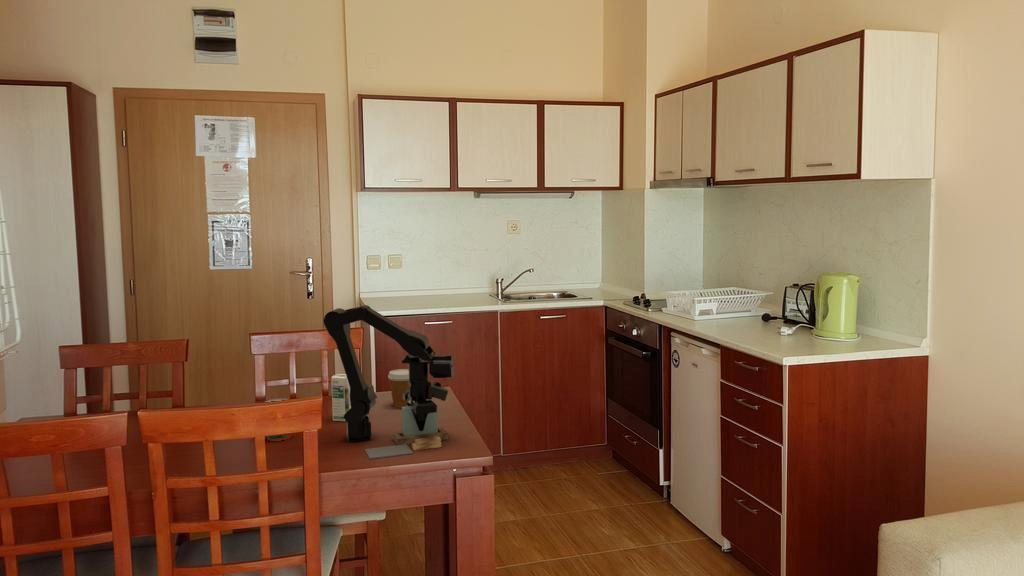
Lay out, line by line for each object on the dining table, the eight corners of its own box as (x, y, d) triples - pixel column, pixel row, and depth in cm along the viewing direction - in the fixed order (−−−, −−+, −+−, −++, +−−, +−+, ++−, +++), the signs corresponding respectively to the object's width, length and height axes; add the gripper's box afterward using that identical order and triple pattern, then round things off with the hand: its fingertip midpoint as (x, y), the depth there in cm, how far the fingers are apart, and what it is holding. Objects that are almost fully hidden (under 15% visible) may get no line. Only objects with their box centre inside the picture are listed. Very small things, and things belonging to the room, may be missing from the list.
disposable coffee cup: (391, 402, 269) (390, 368, 268) (418, 402, 269) (417, 368, 268) (386, 409, 260) (385, 375, 259) (414, 409, 260) (413, 375, 258)
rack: (397, 445, 222) (397, 439, 222) (392, 439, 229) (392, 432, 228) (447, 439, 228) (447, 433, 227) (441, 433, 234) (441, 426, 233)
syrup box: (332, 421, 248) (330, 376, 246) (340, 415, 253) (338, 372, 252) (348, 422, 246) (346, 377, 245) (356, 416, 252) (354, 373, 250)
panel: (404, 442, 225) (403, 409, 224) (402, 439, 228) (401, 406, 227) (438, 438, 228) (437, 405, 227) (435, 435, 231) (434, 403, 230)
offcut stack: (414, 450, 218) (413, 442, 218) (411, 447, 221) (411, 439, 221) (441, 447, 221) (441, 438, 221) (438, 443, 224) (438, 435, 223)
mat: (369, 459, 211) (369, 458, 211) (365, 450, 219) (364, 449, 218) (412, 453, 215) (412, 452, 215) (406, 445, 223) (406, 444, 223)
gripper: (453, 382, 220) (455, 435, 222) (437, 368, 237) (438, 417, 239) (415, 385, 216) (417, 439, 218) (401, 371, 233) (403, 421, 235)
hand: (420, 429), depth 228 cm, fingers closed on panel, 3 cm apart
